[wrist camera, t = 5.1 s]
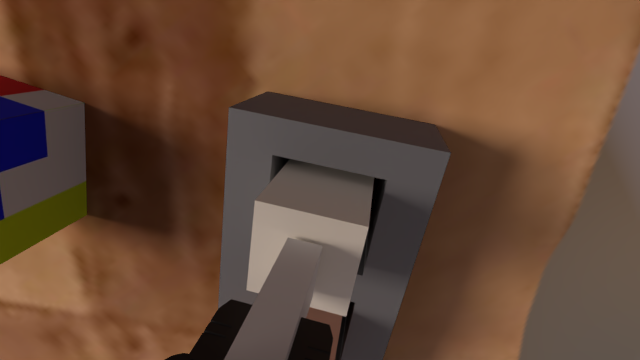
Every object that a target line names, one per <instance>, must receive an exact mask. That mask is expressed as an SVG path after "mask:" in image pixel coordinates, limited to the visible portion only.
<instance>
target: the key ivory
mask: <svg viewBox="0 0 640 360" xmlns="http://www.w3.org/2000/svg"><path fill="white" fill-rule="evenodd" d="M373 184H374V177H371V176H366V175H362V174H357V173H353V172H348V171H344V170H339V169H334V168H330V167H325V166H321V165H316V164H312V163H307V162H302V161H298V160H293V159H290V160H289V161H288V162H287V163H286V164H285V165H284V167H283V168H282V169H281V170H280V171H279V173H278V174H277V175H276V176H275V177H274V178H273V180H272V181H271V182H270V183H269V184H268V185H267V187H266V188H265V189H264V190H263V191H262V193H261V194H260V195H259V196H258V197H257V198H256V200H255V204H254V215H253V225H252V236H251V247H250V257H249V268H248V279H247V289H246V290H248V291H251V292H255V293H259V292H260V290H261V288H262V286H263V284H264V282H265V280H266V278H267V277H268V275H269V273H270V271H271V269H272V267H273V265H274V263H275V261H276V259H277V257H278V256H279V254H280V252H281V250H282V248H283V246H284V244H285V242H286V240H287V238H288V237H289V238H293V239H297V240H301V241H305V242H309V243H313V244H317V245H321V246H323V247H322V252H321V257H320V262H319V267H318V272H317V277H316V282H315V288H314V293H313V297H312V301H311V304H310V307H311V308H315V309H319V310H323V311H326V312H330V313H334V314H338V315H341V316H345V317H346V315H347V311H348V307H349V303H350V300H351V296H352V292H353V288H354V284H355V280H356V276H357V272H358V268H359V264H360V260H361V256H362V252H363V248H364V244H365V240H366V236H367V232H368V228H369V220H370V211H371V202H372V193H373Z"/></svg>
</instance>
